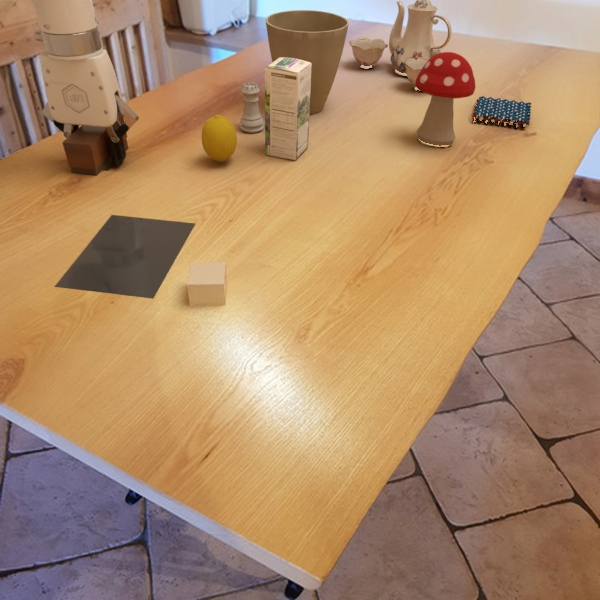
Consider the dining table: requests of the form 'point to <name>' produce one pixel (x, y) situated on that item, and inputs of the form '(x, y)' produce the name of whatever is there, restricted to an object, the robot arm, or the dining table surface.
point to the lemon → (219, 138)
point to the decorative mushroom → (443, 95)
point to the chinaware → (405, 40)
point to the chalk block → (207, 284)
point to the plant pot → (310, 46)
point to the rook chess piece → (251, 109)
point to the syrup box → (287, 107)
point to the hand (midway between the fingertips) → (100, 159)
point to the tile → (128, 257)
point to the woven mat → (502, 110)
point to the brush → (90, 150)
